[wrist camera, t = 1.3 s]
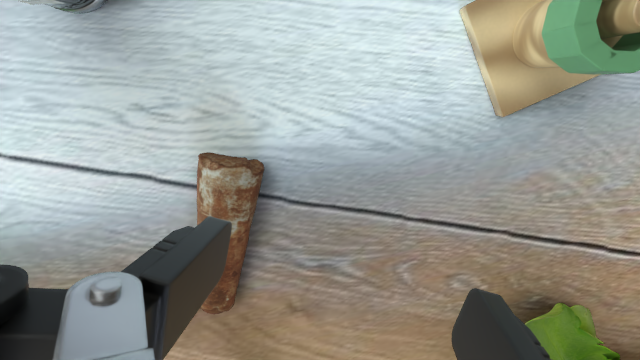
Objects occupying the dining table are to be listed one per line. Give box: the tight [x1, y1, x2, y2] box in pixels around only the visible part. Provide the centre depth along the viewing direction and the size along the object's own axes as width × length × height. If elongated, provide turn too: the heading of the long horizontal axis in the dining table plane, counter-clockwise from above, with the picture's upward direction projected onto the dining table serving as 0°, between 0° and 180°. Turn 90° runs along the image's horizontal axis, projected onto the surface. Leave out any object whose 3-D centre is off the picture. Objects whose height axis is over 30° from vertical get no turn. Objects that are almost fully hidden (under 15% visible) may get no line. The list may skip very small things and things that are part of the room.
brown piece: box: [197, 153, 264, 314], centre depth 33 cm, size 6×19×6 cm, turn 166°
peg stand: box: [460, 0, 640, 117], centre depth 22 cm, size 10×10×11 cm
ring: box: [541, 0, 640, 75], centre depth 19 cm, size 6×6×3 cm
